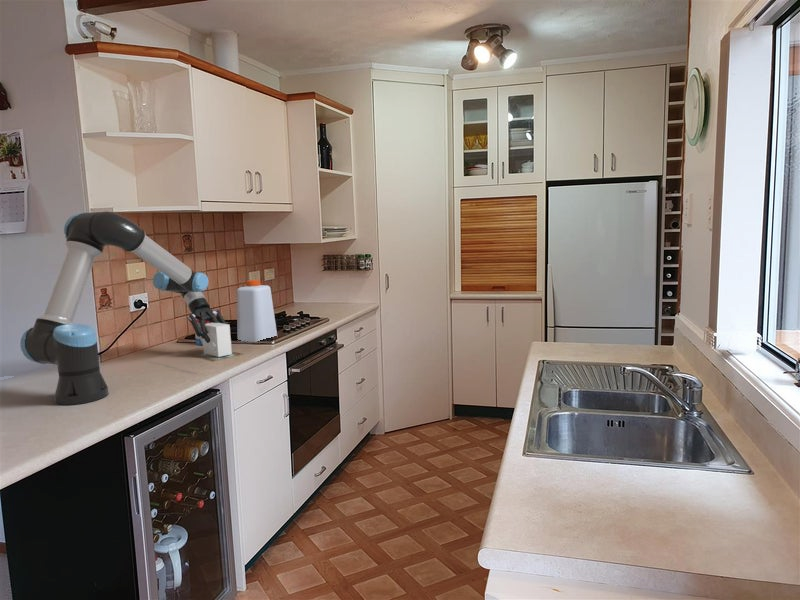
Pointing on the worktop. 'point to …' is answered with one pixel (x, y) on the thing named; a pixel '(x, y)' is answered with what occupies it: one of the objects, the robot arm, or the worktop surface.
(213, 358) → the dock board
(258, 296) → the plastic bottle
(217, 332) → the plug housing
